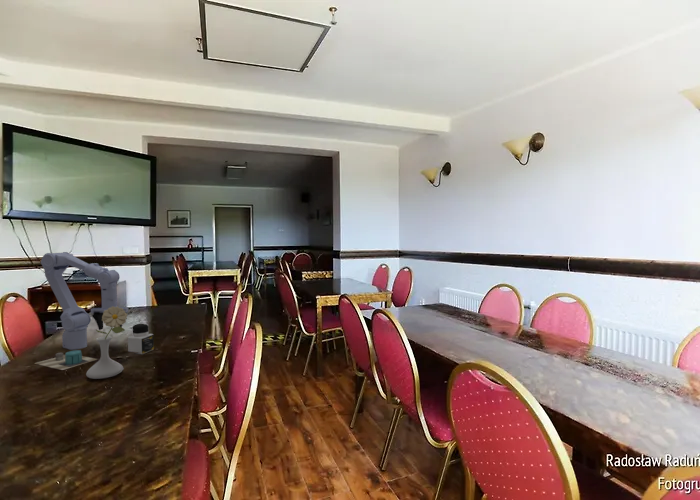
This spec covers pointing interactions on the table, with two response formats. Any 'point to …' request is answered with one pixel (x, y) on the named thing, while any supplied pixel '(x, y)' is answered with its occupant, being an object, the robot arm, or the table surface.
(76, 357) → the cap
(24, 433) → the table surface
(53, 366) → the board
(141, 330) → the medicine bottle
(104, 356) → the flower in vase
